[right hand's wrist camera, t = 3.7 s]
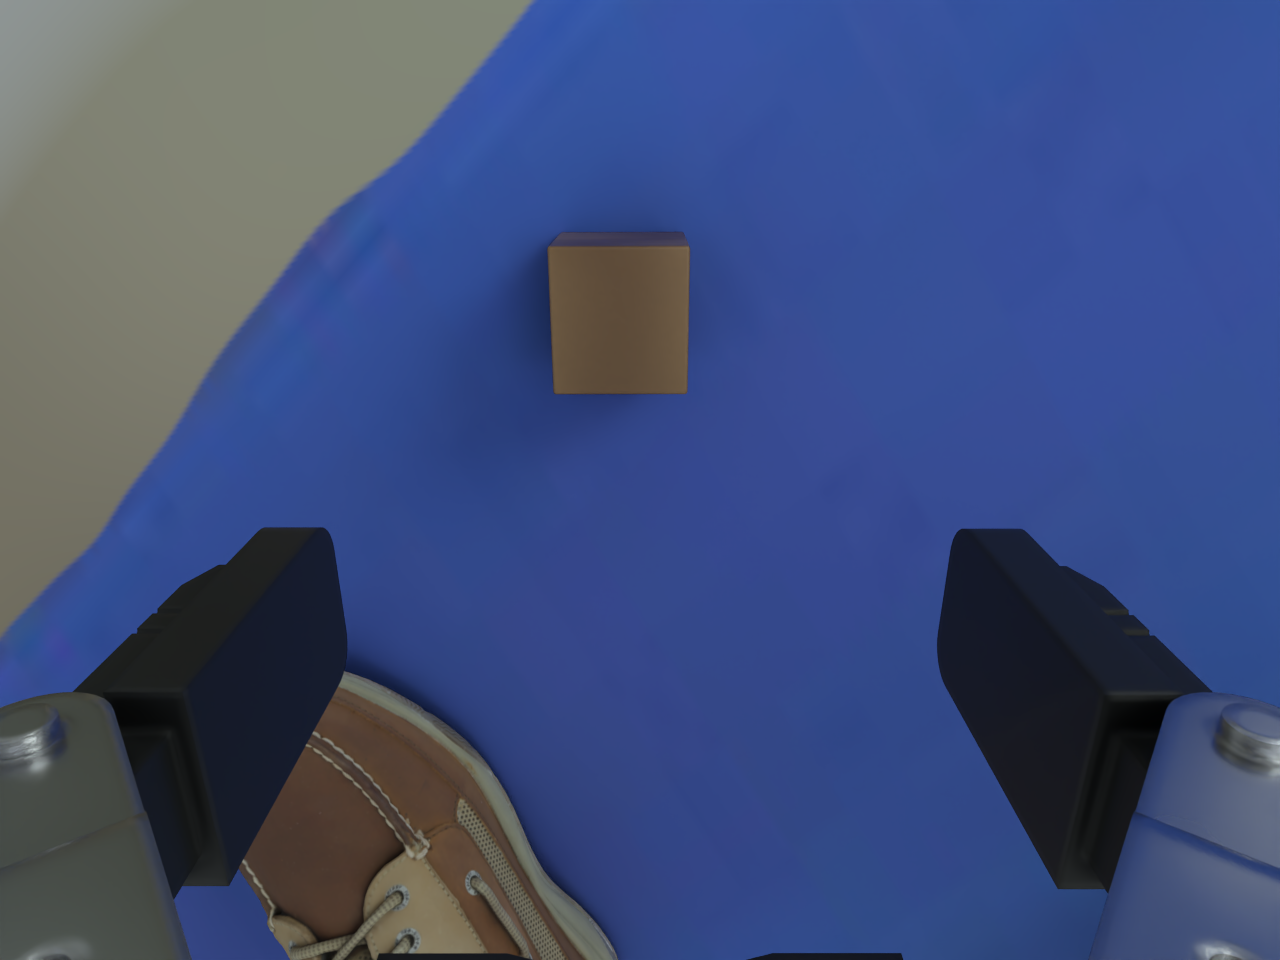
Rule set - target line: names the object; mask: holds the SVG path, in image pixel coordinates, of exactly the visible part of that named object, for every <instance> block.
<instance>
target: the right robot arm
mask: <svg viewBox="0 0 1280 960" xmlns="http://www.w3.org/2000/svg"><path fill="white" fill-rule="evenodd" d="M1128 611H1129V610H1128V609H1127V608H1126V607H1124V606H1123V605H1122V604H1121V603H1120V602H1119V601H1118V600H1117V599H1116V598H1115V597H1114V596H1113V595H1112V594H1111V593H1110V592H1109V591H1108V590H1107V589H1106V588H1105V587H1104V586H1102V585H1100V584H1098V583H1096V582H1095V581H1093V580H1091V579H1089V578H1087V577H1085V576H1083V575H1082V574H1080V573H1078V572H1076V571H1074V570H1072V569H1071V568H1069V567H1067V566H1059V565H1058V564H1057V563H1056V562H1055V561H1054V560H1053V559H1052V558H1051V557H1050V556H1049V555H1048V554H1047V553H1046V552H1045V551H1044V550H1043V548H1042V547H1041V546H1040V545H1039V544H1038V543H1037V542H1036V541H1035V540H1034V539H1033V538H1032V537H1031V536H1030V535H1029V534H1028V533H1027V532H1026V531H1024V530H1022V529H960V530H959V531H958V532H957V533H956V535H955V537H954V539H953V542H952V545H951V551H950V557H949V564H948V570H947V577H946V584H945V590H944V597H943V603H942V610H941V617H940V623H939V630H938V638H937V654H938V663H939V669H940V673H941V677H942V680H943V682H944V684H945V686H946V688H947V690H948V692H949V694H950V696H951V697H952V699H953V701H954V703H955V705H956V706H957V708H958V710H959V712H960V714H961V715H962V717H963V719H964V721H965V723H966V724H967V726H968V728H969V730H970V732H971V733H972V735H973V737H974V739H975V741H976V742H977V744H978V746H979V748H980V750H981V751H982V753H983V755H984V757H985V759H986V760H987V762H988V764H989V766H990V768H991V769H992V771H993V773H994V775H995V777H996V778H997V780H998V782H999V784H1000V786H1001V787H1002V789H1003V791H1004V793H1005V795H1006V796H1007V798H1008V800H1009V802H1010V804H1011V805H1012V807H1013V809H1014V811H1015V813H1016V814H1017V816H1018V818H1019V820H1020V822H1021V823H1022V825H1023V827H1024V829H1025V831H1026V832H1027V834H1028V836H1029V838H1030V840H1031V841H1032V843H1033V845H1034V847H1035V849H1036V850H1037V852H1038V854H1039V856H1040V858H1041V859H1042V861H1043V863H1044V865H1045V867H1046V868H1047V870H1048V872H1049V874H1050V876H1051V877H1052V879H1053V881H1054V883H1055V885H1056V886H1057V888H1058V889H1105V890H1106V891H1107V893H1108V897H1107V900H1106V903H1105V906H1104V910H1103V913H1102V916H1101V920H1100V923H1099V926H1098V929H1097V933H1096V936H1095V939H1094V942H1093V946H1092V949H1091V952H1090V955H1089V959H1088V960H1280V708H1279V707H1276V706H1273V705H1270V704H1268V703H1265V702H1262V701H1258V700H1255V699H1251V698H1247V697H1243V696H1238V695H1233V694H1226V693H1217V692H1212V691H1211V690H1210V689H1209V688H1208V687H1207V686H1206V685H1205V684H1204V683H1203V682H1202V681H1201V680H1200V679H1199V678H1198V677H1197V676H1196V675H1195V674H1194V673H1192V672H1191V671H1190V670H1189V669H1188V668H1187V667H1186V666H1185V665H1184V664H1183V663H1182V662H1181V661H1180V660H1179V659H1178V658H1177V657H1176V656H1175V655H1174V654H1173V653H1172V652H1171V651H1170V650H1169V649H1168V648H1167V647H1166V646H1165V645H1164V644H1163V643H1162V642H1161V641H1160V640H1158V639H1157V638H1156V637H1155V636H1150V635H1149V630H1148V629H1147V628H1146V627H1145V626H1144V625H1143V624H1142V623H1141V622H1140V621H1139V620H1138V619H1137V618H1136V617H1135V616H1134V615H1129V613H1128ZM346 658H347V632H346V625H345V618H344V612H343V605H342V598H341V592H340V585H339V578H338V571H337V565H336V558H335V551H334V546H333V542H332V538H331V536H330V534H329V532H328V531H327V530H326V529H325V528H262V529H260V530H259V531H258V532H257V533H256V534H255V535H254V536H253V537H252V538H251V539H250V540H249V541H248V542H247V543H246V545H245V546H244V547H243V548H242V549H241V550H240V551H239V552H238V553H237V554H236V555H235V556H234V557H233V558H232V559H231V560H230V561H229V562H228V563H227V564H226V565H218V566H216V567H214V568H212V569H210V570H209V571H207V572H205V573H203V574H201V575H199V576H198V577H196V578H194V579H192V580H190V581H188V582H186V583H185V584H183V585H181V586H180V587H179V588H178V589H177V590H176V591H175V592H174V593H173V594H172V595H171V596H170V597H169V598H168V599H167V600H166V601H165V602H164V603H163V604H162V605H161V606H160V607H159V608H158V612H157V614H152V615H151V616H150V617H149V618H148V619H147V620H146V621H145V622H144V623H143V624H141V625H140V626H139V627H138V628H137V634H131V635H130V636H129V637H128V638H127V639H126V640H125V641H124V642H123V643H122V644H121V645H120V646H119V647H118V648H117V649H116V650H115V651H114V652H113V653H112V654H111V655H110V656H109V657H108V658H107V659H106V660H105V661H104V662H103V663H102V664H101V665H100V666H99V667H98V668H97V669H96V670H95V671H94V672H92V673H91V674H90V675H89V676H88V677H87V678H86V679H85V680H84V681H83V682H82V683H81V684H80V685H79V686H78V687H77V688H76V689H75V690H74V691H73V692H63V693H54V694H47V695H42V696H37V697H33V698H29V699H25V700H22V701H18V702H15V703H12V704H9V705H7V706H4V707H1V708H0V960H192V959H191V955H190V952H189V949H188V946H187V942H186V939H185V936H184V933H183V929H182V926H181V923H180V920H179V916H178V913H177V910H176V906H175V903H174V898H175V897H176V895H177V894H178V892H179V890H180V889H181V887H182V886H229V885H230V883H231V881H232V879H233V877H234V876H235V874H236V872H237V870H238V868H239V867H240V865H241V863H242V861H243V859H244V857H245V856H246V854H247V852H248V850H249V848H250V846H251V845H252V843H253V841H254V839H255V837H256V836H257V834H258V832H259V830H260V828H261V826H262V825H263V823H264V821H265V819H266V817H267V815H268V814H269V812H270V810H271V808H272V806H273V805H274V803H275V801H276V799H277V797H278V795H279V794H280V792H281V790H282V788H283V786H284V784H285V783H286V781H287V779H288V777H289V775H290V774H291V772H292V770H293V768H294V766H295V764H296V763H297V761H298V759H299V757H300V755H301V753H302V752H303V750H304V748H305V746H306V744H307V742H308V741H309V739H310V737H311V735H312V733H313V732H314V730H315V728H316V726H317V724H318V722H319V721H320V719H321V717H322V715H323V713H324V711H325V710H326V708H327V706H328V704H329V702H330V701H331V699H332V697H333V695H334V693H335V691H336V690H337V688H338V686H339V684H340V682H341V679H342V677H343V673H344V670H345V665H346ZM377 960H532V959H528V958H524V957H520V956H516V955H512V954H508V953H379V954H378V958H377ZM748 960H903V958H902V954H901V953H772V954H768V955H764V956H760V957H756V958H752V959H748Z"/></svg>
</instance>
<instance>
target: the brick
mask: <svg viewBox="0 0 1280 960" xmlns="http://www.w3.org/2000/svg"><path fill="white" fill-rule="evenodd" d="M547 252H548V276H549V299H550V323H551V347H552V371H553V392H554V394H686V393H687V388H688V332H689V277H690V247H689V245H688V242H687V240H686V238H685V235H684V233H683V232H562V233H560V234H559V235H558V236H557V237H556V239H555V240H554V241H553V242H552V243H551V244H550V245H549V246H548V248H547Z"/></svg>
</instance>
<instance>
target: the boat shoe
mask: <svg viewBox="0 0 1280 960" xmlns="http://www.w3.org/2000/svg"><path fill="white" fill-rule="evenodd" d="M239 870H240V871H241V873H242V875H243V876H244V878H245V879H246V881H247V882H248V884H249V885H250V886H251V887H252V889H253V891H254V892H255V894H256V895H257V897H258V898H259V900H260V901H261V904H262V906H263V908H264V910H265V911H266V913H267V916H268V922H267V925H268V927H269V928H270V930H271V931H272V932H273V934H274V936H275V938H276V939H277V940H278V942H279V943H280V944H281V945H282V946H283V948H284V949H285V951H286V953H287V955H288V956H289V958H290V960H377V958H378V954H379V953H508V954H512V955H516V956H520V957H524V958H528V959H532V960H618V958H617V955H616V953H615V950H614V948H613V946H612V945H611V943H610V941H609V940H608V938H607V937H606V935H605V934H604V933H603V932H602V930H601V928H600V927H599V926H598V924H597V923H596V922H595V921H594V920H593V919H592V918H591V917H590V915H589V914H588V913H587V912H586V911H585V910H584V909H583V908H582V907H581V906H580V905H578V904H577V903H576V902H575V901H574V900H573V899H572V898H571V897H569V896H568V895H567V894H566V893H565V892H564V891H562V890H561V889H560V888H559V887H558V886H557V885H556V884H555V883H554V882H553V881H552V880H551V879H550V878H549V877H548V875H547V874H546V873H545V871H544V870H543V868H542V867H541V865H540V863H539V862H538V860H537V858H536V856H535V854H534V853H533V851H532V849H531V846H530V844H529V842H528V840H527V837H526V835H525V833H524V830H523V828H522V825H521V823H520V822H519V819H518V817H517V815H516V812H515V810H514V807H513V806H512V804H511V802H510V800H509V798H508V796H507V794H506V792H505V790H504V789H503V787H502V786H501V784H500V782H499V781H498V779H497V778H496V776H495V775H494V773H493V772H492V770H491V769H490V767H489V766H488V764H487V763H486V762H485V760H484V759H483V758H482V757H481V756H480V754H479V753H478V752H477V751H476V750H475V749H474V748H473V747H472V746H471V745H470V744H469V743H468V742H467V741H466V740H465V739H464V738H463V737H462V736H461V735H459V734H458V733H457V732H456V731H454V730H453V729H452V728H451V727H449V726H448V725H447V724H446V723H444V722H443V721H441V720H440V719H439V718H437V717H436V716H434V715H433V714H431V713H429V712H426V711H424V710H423V709H422V708H421V707H420V706H419V705H417V704H415V703H414V702H412V701H410V700H408V699H407V698H405V697H403V696H401V695H400V694H398V693H396V692H394V691H392V690H391V689H389V688H387V687H385V686H382V685H380V684H378V683H376V682H373V681H371V680H369V679H366V678H363V677H360V676H358V675H355V674H352V673H349V672H345V671H344V673H343V677H342V679H341V682H340V684H339V686H338V688H337V690H336V691H335V693H334V695H333V697H332V699H331V701H330V702H329V704H328V706H327V708H326V710H325V711H324V713H323V715H322V717H321V719H320V721H319V722H318V724H317V726H316V728H315V730H314V732H313V733H312V735H311V737H310V739H309V741H308V742H307V744H306V746H305V748H304V750H303V752H302V753H301V755H300V757H299V759H298V761H297V763H296V764H295V766H294V768H293V770H292V772H291V774H290V775H289V777H288V779H287V781H286V783H285V784H284V786H283V788H282V790H281V792H280V794H279V795H278V797H277V799H276V801H275V803H274V805H273V806H272V808H271V810H270V812H269V814H268V815H267V817H266V819H265V821H264V823H263V825H262V826H261V828H260V830H259V832H258V834H257V836H256V837H255V839H254V841H253V843H252V845H251V846H250V848H249V850H248V852H247V854H246V856H245V857H244V859H243V861H242V863H241V865H240V867H239Z"/></svg>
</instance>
